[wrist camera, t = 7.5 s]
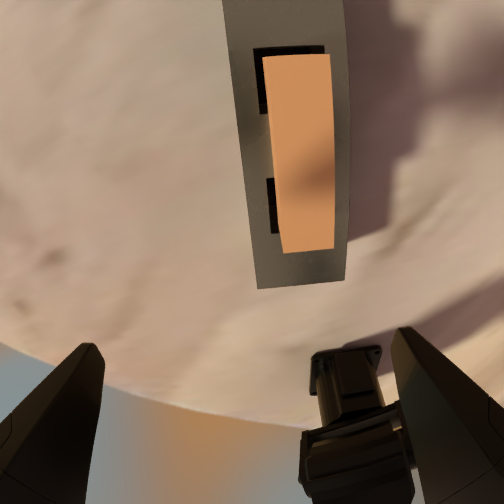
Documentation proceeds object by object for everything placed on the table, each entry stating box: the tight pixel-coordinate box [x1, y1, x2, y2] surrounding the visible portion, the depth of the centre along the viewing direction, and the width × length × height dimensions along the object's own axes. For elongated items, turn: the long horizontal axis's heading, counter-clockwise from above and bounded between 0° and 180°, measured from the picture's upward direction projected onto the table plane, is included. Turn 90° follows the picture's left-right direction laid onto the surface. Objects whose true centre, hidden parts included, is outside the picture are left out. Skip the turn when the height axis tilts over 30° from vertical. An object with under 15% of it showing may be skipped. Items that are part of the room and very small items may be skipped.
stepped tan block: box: [262, 54, 335, 253], centre depth 14 cm, size 8×2×6 cm, turn 6°
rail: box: [222, 0, 350, 289], centre depth 15 cm, size 16×5×3 cm, turn 6°
